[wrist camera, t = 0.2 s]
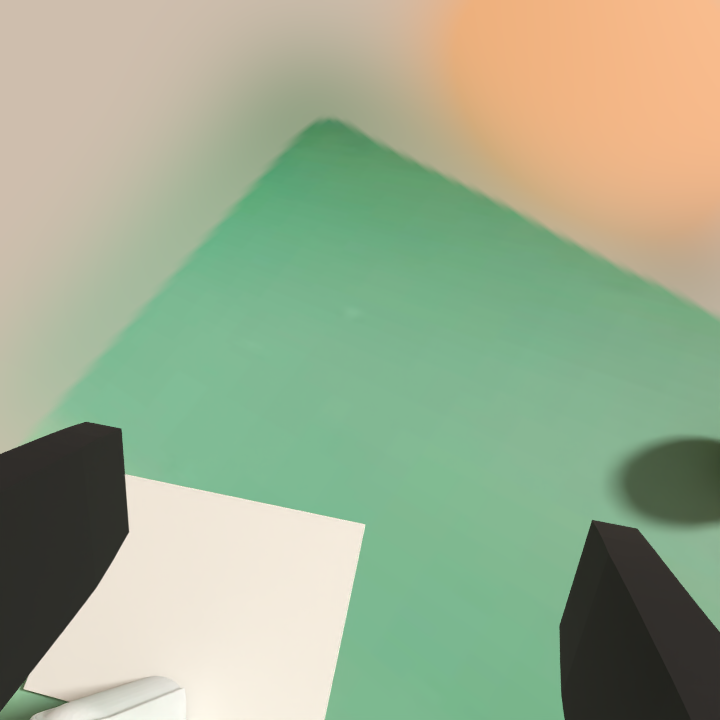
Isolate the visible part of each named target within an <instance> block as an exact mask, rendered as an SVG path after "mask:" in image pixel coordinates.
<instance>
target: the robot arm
mask: <svg viewBox="0 0 720 720" xmlns="http://www.w3.org/2000/svg"><path fill="white" fill-rule="evenodd" d="M128 533H129V522H128V509H127V496H126V482H125V469H124V456H123V443H122V430H121V429H120V428H115V427H110V426H105V425H100V424H95V423H89V422H84V423H81V424H78V425H74V426H71V427H68V428H65V429H63V430H60V431H57V432H55V433H52V434H49V435H47V436H44V437H42V438H39V439H37V440H34V441H32V442H29V443H27V444H24V445H22V446H19V447H17V448H14V449H12V450H9V451H7V452H4V453H2V454H0V711H1V710H2V709H3V708H4V706H5V705H6V704H7V702H8V701H9V700H10V699H11V697H12V696H13V695H14V694H15V692H16V691H17V690H18V688H19V687H20V686H21V685H22V683H23V682H24V681H25V680H26V678H27V677H28V676H29V674H30V673H31V672H32V671H33V669H34V668H35V667H36V665H37V664H38V663H39V662H40V660H41V659H42V658H43V657H44V655H45V654H46V653H47V651H48V650H49V649H50V648H51V646H52V645H53V644H54V643H55V641H56V640H57V639H58V637H59V636H60V635H61V634H62V632H63V631H64V630H65V628H66V627H67V626H68V625H69V623H70V622H71V621H72V619H73V618H74V617H75V615H76V614H77V613H78V612H79V610H80V609H81V608H82V606H83V605H84V604H85V602H86V601H87V600H88V598H89V597H90V596H91V594H92V593H93V592H94V590H95V589H96V588H97V586H98V584H99V583H100V581H101V580H102V578H103V576H104V575H105V573H106V571H107V570H108V568H109V567H110V565H111V563H112V562H113V560H114V558H115V556H116V555H117V553H118V551H119V549H120V547H121V546H122V544H123V542H124V540H125V539H126V537H127V535H128ZM560 669H561V695H562V703H563V710H564V718H565V720H720V632H719V631H718V629H717V628H716V627H715V626H714V625H713V623H712V622H711V621H710V620H709V618H708V617H707V616H706V615H705V613H704V612H703V611H702V610H701V609H700V607H699V606H698V605H697V604H696V602H695V601H694V600H693V599H692V597H691V596H690V595H689V593H688V592H687V591H686V590H685V588H684V587H683V586H682V585H681V583H680V582H679V581H678V580H677V578H676V577H675V576H674V574H673V573H672V572H671V571H670V569H669V568H668V567H667V566H666V564H665V563H664V562H663V560H662V559H661V558H660V557H659V555H658V554H657V553H656V551H655V550H654V549H653V548H652V546H651V545H650V544H649V543H648V541H647V540H646V539H645V538H644V536H643V535H642V534H641V533H640V532H639V530H638V529H636V528H631V527H626V526H621V525H615V524H610V523H605V522H600V521H595V520H592V523H591V526H590V529H589V532H588V535H587V539H586V542H585V545H584V548H583V552H582V555H581V558H580V561H579V565H578V568H577V571H576V574H575V577H574V581H573V584H572V587H571V590H570V594H569V597H568V600H567V603H566V607H565V610H564V613H563V616H562V619H561V623H560Z"/></svg>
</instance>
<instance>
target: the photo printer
mask: <svg viewBox="0 0 720 720" xmlns="http://www.w3.org/2000/svg"><path fill="white" fill-rule="evenodd" d="M30 720H186V692H185V688H180V687H179V685H178V684H177V683H176V682H174V681H173V680H171V679H169V678H166V677H162V676H151V677H147V678H144V679H141V680H138V681H134V682H131V683H128V684H125V685H122V686H119V687H116V688H112V689H109V690H106V691H103V692H100V693H97V694H93V695H90V696H87V697H84V698H81V699H78V700H74V701H71V702H68V703H65V704H63V705H61V706H58V707H55V708H52V709H49V710H46V711H43V712H40V713H37V714H35V715H33V716H32V717H31V718H30Z"/></svg>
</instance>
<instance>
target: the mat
mask: <svg viewBox="0 0 720 720" xmlns="http://www.w3.org/2000/svg"><path fill="white" fill-rule="evenodd" d="M125 482H126V496H127V509H128V522H129V533H128V535H127V537H126V539H125V540H124V542H123V544H122V546H121V547H120V549H119V551H118V553H117V555H116V556H115V558H114V560H113V562H112V563H111V565H110V567H109V568H108V570H107V571H106V573H105V575H104V576H103V578H102V580H101V581H100V583H99V584H98V586H97V588H96V589H95V590H94V592H93V593H92V594H91V596H90V597H89V598H88V600H87V601H86V602H85V604H84V605H83V606H82V608H81V609H80V610H79V612H78V613H77V614H76V615H75V617H74V618H73V619H72V621H71V622H70V623H69V625H68V626H67V627H66V628H65V630H64V631H63V632H62V634H61V635H60V636H59V637H58V639H57V640H56V641H55V643H54V644H53V645H52V646H51V648H50V649H49V650H48V651H47V653H46V654H45V655H44V657H43V658H42V659H41V660H40V662H39V663H38V664H37V665H36V667H35V668H34V669H33V671H32V672H31V673H30V674H29V676H28V678H27V681H26V684H25V686H24V689H25V690H29V691H32V692H36V693H39V694H43V695H47V696H50V697H54V698H57V699H61V700H65V701H68V702H71V701H74V700H78V699H81V698H84V697H87V696H90V695H93V694H97V693H100V692H103V691H106V690H109V689H112V688H116V687H119V686H122V685H125V684H128V683H131V682H134V681H138V680H141V679H144V678H147V677H151V676H162V677H166V678H169V679H171V680H173V681H174V682H176V683H177V684H178V685H179V687H180V688H185V692H186V720H325V716H326V711H327V706H328V701H329V697H330V692H331V687H332V682H333V677H334V673H335V668H336V663H337V658H338V654H339V649H340V644H341V639H342V635H343V630H344V625H345V620H346V615H347V611H348V606H349V601H350V596H351V592H352V587H353V582H354V577H355V572H356V568H357V563H358V558H359V553H360V549H361V544H362V539H363V534H364V529H365V524H361V523H356V522H351V521H346V520H342V519H337V518H332V517H327V516H322V515H318V514H313V513H308V512H303V511H298V510H294V509H289V508H284V507H279V506H274V505H270V504H265V503H260V502H255V501H251V500H246V499H241V498H236V497H231V496H227V495H222V494H217V493H212V492H207V491H203V490H198V489H193V488H188V487H183V486H179V485H174V484H169V483H164V482H160V481H155V480H150V479H145V478H140V477H136V476H131V475H126V474H125Z"/></svg>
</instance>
